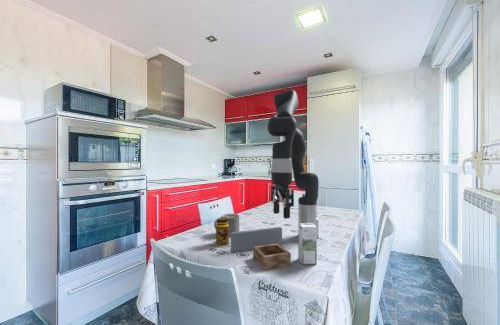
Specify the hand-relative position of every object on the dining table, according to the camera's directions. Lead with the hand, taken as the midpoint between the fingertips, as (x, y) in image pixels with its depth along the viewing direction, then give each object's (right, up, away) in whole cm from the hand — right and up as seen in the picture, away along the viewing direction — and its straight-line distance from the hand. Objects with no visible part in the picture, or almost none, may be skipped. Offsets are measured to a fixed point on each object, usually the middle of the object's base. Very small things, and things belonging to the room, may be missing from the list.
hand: (281, 215), depth 82 cm
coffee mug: (-24, -19, +39) cm, 50 cm away
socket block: (-3, -19, +5) cm, 20 cm away
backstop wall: (-8, -19, +19) cm, 28 cm away
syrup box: (+11, -19, +5) cm, 23 cm away
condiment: (-25, -19, +25) cm, 40 cm away
